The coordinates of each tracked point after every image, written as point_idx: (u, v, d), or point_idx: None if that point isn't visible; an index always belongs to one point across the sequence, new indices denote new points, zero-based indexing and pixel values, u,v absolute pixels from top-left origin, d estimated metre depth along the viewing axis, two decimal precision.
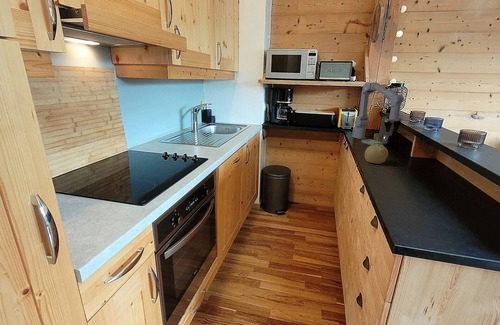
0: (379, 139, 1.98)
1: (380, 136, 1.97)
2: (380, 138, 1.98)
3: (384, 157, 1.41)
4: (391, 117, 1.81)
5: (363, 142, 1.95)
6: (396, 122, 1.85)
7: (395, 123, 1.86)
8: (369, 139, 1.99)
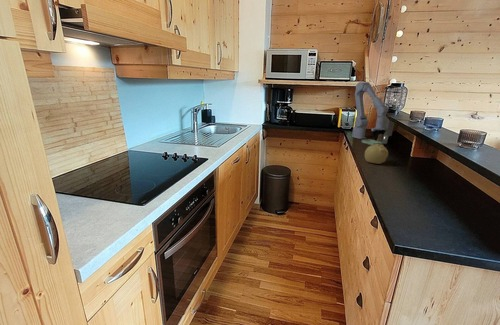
0: (379, 139, 1.98)
1: (380, 136, 1.97)
2: (380, 138, 1.98)
3: (384, 157, 1.41)
4: (377, 126, 1.96)
5: (363, 142, 1.95)
6: (380, 131, 1.99)
7: (380, 132, 2.00)
8: (369, 139, 1.99)
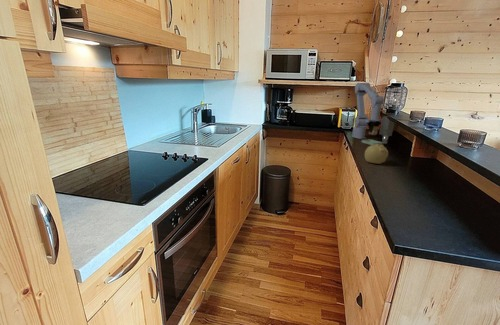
0: (374, 132, 1.92)
1: (376, 128, 1.92)
2: (376, 131, 1.92)
3: (384, 157, 1.41)
4: (372, 117, 1.90)
5: (363, 142, 1.95)
6: (376, 122, 1.93)
7: (375, 123, 1.94)
8: (369, 139, 1.99)
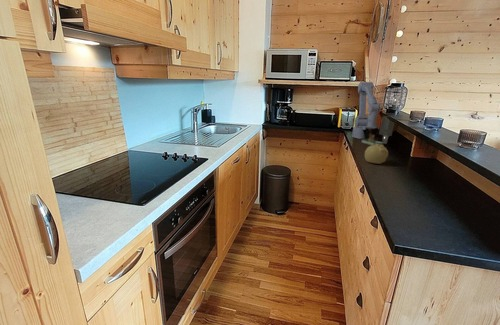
0: (371, 140, 1.93)
1: (372, 137, 1.92)
2: (372, 139, 1.93)
3: (384, 157, 1.41)
4: (369, 125, 1.90)
5: (363, 142, 1.95)
6: (373, 129, 1.94)
7: (373, 130, 1.95)
8: None
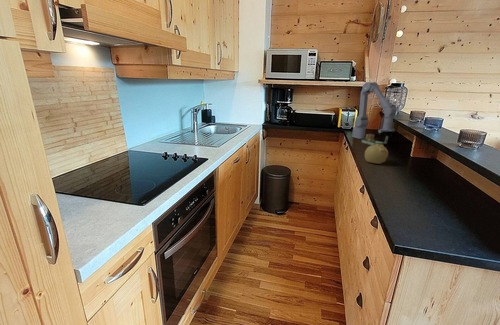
0: (371, 140, 1.93)
1: (372, 137, 1.92)
2: (372, 139, 1.93)
3: (384, 157, 1.41)
4: (384, 128, 1.90)
5: (363, 142, 1.95)
6: (388, 132, 1.93)
7: (387, 133, 1.94)
8: None
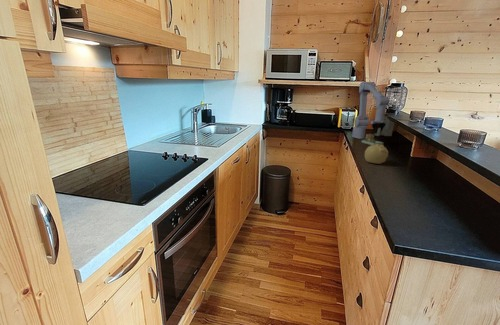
0: (371, 140, 1.93)
1: (372, 137, 1.92)
2: (372, 139, 1.93)
3: (384, 157, 1.41)
4: (376, 119, 1.84)
5: (363, 142, 1.95)
6: (380, 124, 1.87)
7: (379, 125, 1.88)
8: None
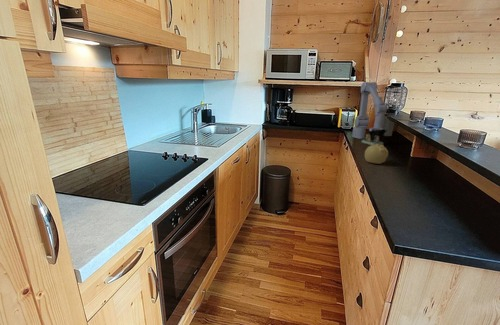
0: None
1: None
2: None
3: (384, 157, 1.41)
4: (375, 126, 1.85)
5: (363, 142, 1.95)
6: (380, 131, 1.89)
7: (380, 132, 1.90)
8: None
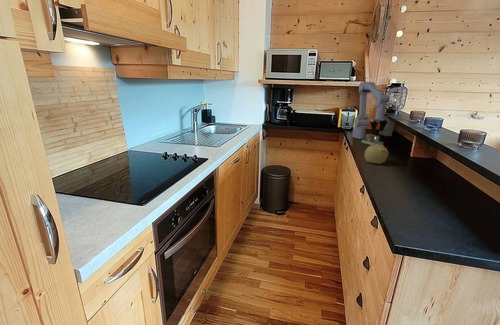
0: (371, 140, 1.93)
1: (372, 137, 1.92)
2: (372, 139, 1.93)
3: (384, 157, 1.41)
4: (377, 117, 1.83)
5: (363, 142, 1.95)
6: (382, 122, 1.87)
7: (381, 123, 1.88)
8: None
